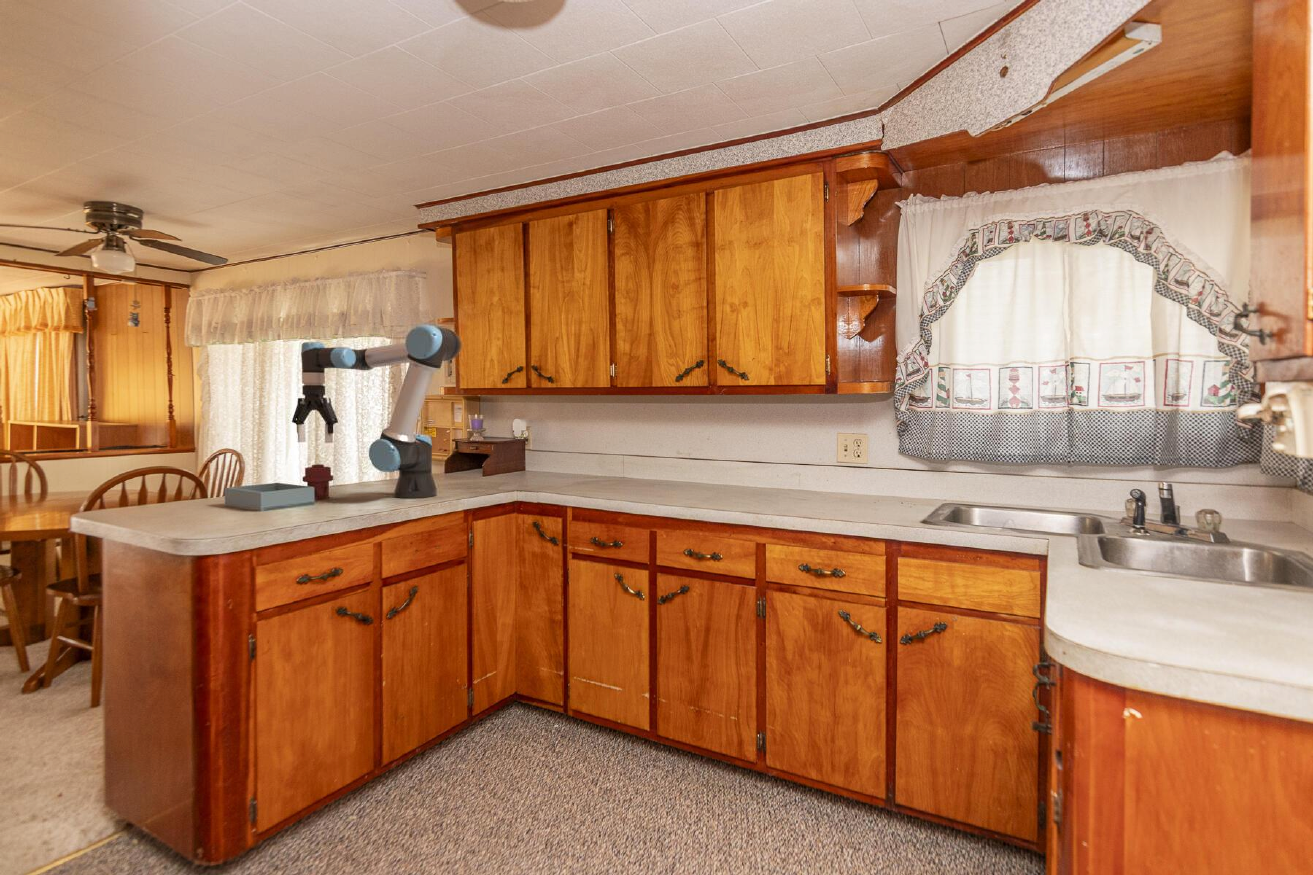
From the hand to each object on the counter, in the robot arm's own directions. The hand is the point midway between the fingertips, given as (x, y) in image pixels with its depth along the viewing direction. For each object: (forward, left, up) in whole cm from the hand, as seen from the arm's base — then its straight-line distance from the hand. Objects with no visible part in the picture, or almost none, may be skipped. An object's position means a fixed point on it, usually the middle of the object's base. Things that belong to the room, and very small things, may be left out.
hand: (315, 442), depth 252 cm
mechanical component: (-5, +3, -20) cm, 21 cm away
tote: (-6, +21, -20) cm, 29 cm away
